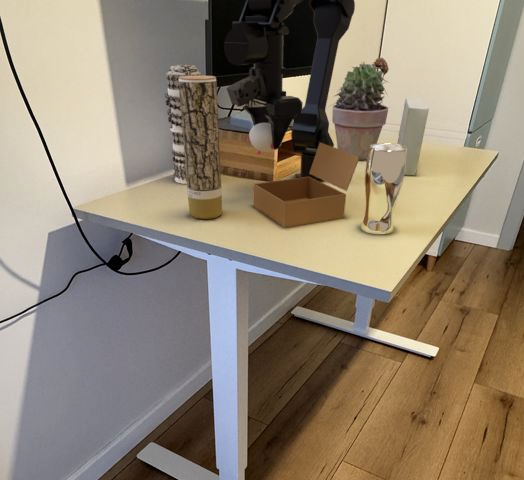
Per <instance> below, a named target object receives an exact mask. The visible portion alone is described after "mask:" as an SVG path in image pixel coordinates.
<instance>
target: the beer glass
mask: <svg viewBox="0 0 524 480" xmlns="http://www.w3.org/2000/svg"><path fill="white" fill-rule="evenodd" d="M406 154H407V147H406V146H404V145H400V144H397V143H392V142H377V143H376V144H372V145H370V146H369V152H368V157H367V160H366V163H365V169H364V171H365V172H364V197H365V207H364V208H365V209H364V215H363V219H362V221H361V226H360V228H361V230H362V231H363V232H365V233H368V234H371V235H388V234H390V233H392V232H393V231H394V214H395V208H396V205H397V201H398V199H399V195H400V192H401V190H402V186H403V183H404V179H405V175H404V173H405V166H406Z"/></svg>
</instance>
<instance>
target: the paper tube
mask: <svg viewBox="0 0 524 480" xmlns="http://www.w3.org/2000/svg"><path fill="white" fill-rule="evenodd" d="M178 78H179V80H178V82H179V95H180V107H181V119H182V131H183V143H184V155H185V167H186V179H187V184H186V190H187V201H188V213H189V215H190V216H191V217H193V218H195V219H200V220H209V219H216V218H218V217H220V216H221V215H222V213H223V199H222V198H223V197H222V174H221V173H222V172H221V150H220V130H219V128H220V127H219V126H220V125H219V107H218V105H219V104H218V103H219V102H218V83H217V82H218V81H217V76H215V75H200V76H181V77H178Z"/></svg>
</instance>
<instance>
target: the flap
mask: <svg viewBox="0 0 524 480" xmlns="http://www.w3.org/2000/svg"><path fill="white" fill-rule="evenodd" d="M359 158H360V157H359V156H356V155H353V154H350V153H348V152H345V151H342V150H339V149H338V147H335V146H334V147H331V146H328V145H326V144H323V143H319V146H318V149H317V152H316V155H315V158H314V161H313V164H312V167H311V169H310V172H309V174H311V175H313V176H315V177H318V178H320V179H322V180H321V181H324V182H326V183H327V184H330V185H333V186H335V187H337V188H339V189H341V190H343V191H345V192H348V189H349V187H350V184H351V182H352V179H353V176H354V173H355V171H356V168H357V165H358V163H359V161H360V160H359Z"/></svg>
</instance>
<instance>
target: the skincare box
mask: <svg viewBox="0 0 524 480" xmlns="http://www.w3.org/2000/svg"><path fill="white" fill-rule="evenodd" d="M429 110H430V108H429V106H428V105H427V103H426V101H425V99H424V98H420V97H419V98H417V97H405V99H404V104H403V111H402V115H401V117H402V118H401V122H400V126H399V130H398V137H397V143H396V144H400V145H404V146H406V147H407V154H406V166H405V173H404V176H416V174H417V170H418V165H419V160H420V154H421V151H422V145H423V142H424V141H423V140H424V136H425V132H426V131H425V130H426V125H427V120H428V115H429Z"/></svg>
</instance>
